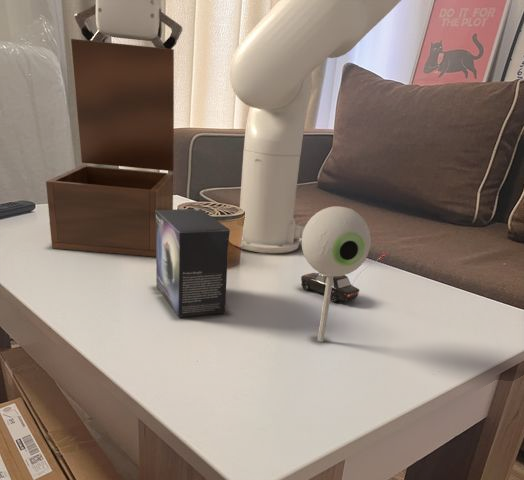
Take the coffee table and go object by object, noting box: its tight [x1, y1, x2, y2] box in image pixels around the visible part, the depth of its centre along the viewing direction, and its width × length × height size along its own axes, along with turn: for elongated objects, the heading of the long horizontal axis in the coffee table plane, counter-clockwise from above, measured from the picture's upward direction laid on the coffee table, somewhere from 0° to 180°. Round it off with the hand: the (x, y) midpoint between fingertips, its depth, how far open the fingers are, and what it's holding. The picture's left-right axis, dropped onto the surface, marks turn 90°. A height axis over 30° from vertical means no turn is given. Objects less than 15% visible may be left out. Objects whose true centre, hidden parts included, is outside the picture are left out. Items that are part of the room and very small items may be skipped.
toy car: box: [300, 253, 387, 303], centre depth 71 cm, size 4×12×8 cm, turn 43°
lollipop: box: [301, 205, 372, 343], centre depth 56 cm, size 7×7×15 cm
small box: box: [155, 208, 231, 318], centre depth 64 cm, size 11×6×10 cm, turn 25°
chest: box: [45, 164, 174, 258], centre depth 87 cm, size 18×16×10 cm
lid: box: [70, 38, 175, 172], centre depth 90 cm, size 19×16×5 cm
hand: (130, 78), depth 89 cm, fingers open, 9 cm apart
